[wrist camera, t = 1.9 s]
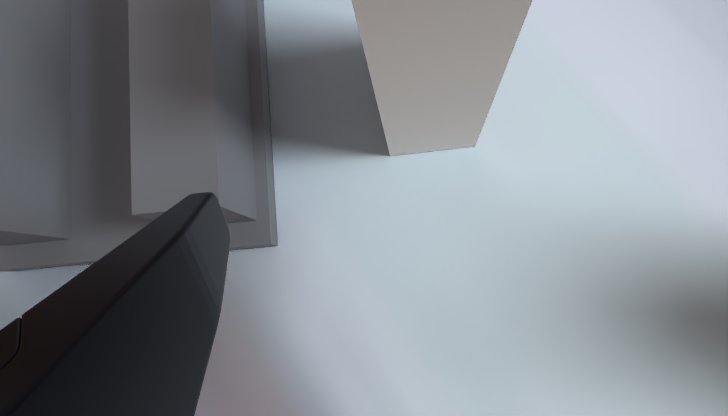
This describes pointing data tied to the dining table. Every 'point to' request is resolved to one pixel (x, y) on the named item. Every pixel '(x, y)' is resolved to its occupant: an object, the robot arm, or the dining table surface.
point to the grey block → (436, 66)
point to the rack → (129, 123)
